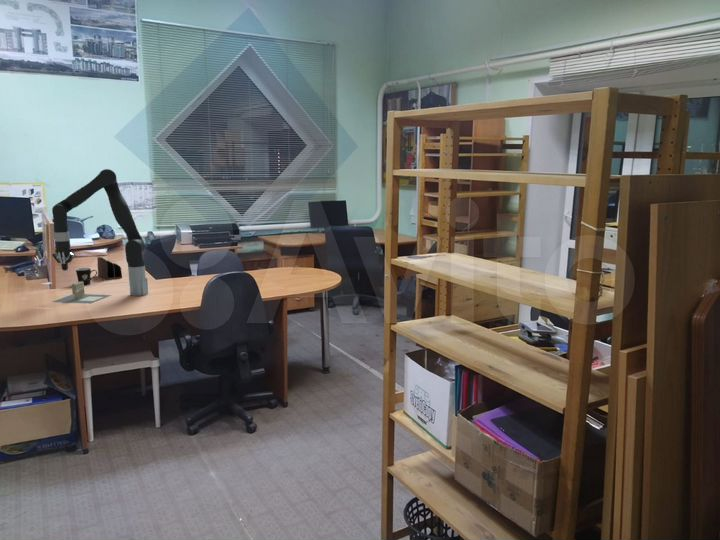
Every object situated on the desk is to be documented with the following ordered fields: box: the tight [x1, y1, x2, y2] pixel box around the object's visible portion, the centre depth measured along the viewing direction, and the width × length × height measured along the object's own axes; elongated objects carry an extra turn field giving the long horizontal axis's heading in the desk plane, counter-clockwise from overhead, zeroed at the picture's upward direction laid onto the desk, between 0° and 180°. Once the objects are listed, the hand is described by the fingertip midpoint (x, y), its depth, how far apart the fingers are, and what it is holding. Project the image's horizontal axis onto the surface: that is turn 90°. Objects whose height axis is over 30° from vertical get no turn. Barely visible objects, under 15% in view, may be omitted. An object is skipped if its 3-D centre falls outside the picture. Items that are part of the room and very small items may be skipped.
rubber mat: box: [51, 293, 112, 304], centre depth 307 cm, size 24×20×1 cm
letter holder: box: [97, 256, 123, 281], centre depth 371 cm, size 10×20×14 cm, turn 42°
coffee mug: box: [75, 267, 98, 286], centre depth 348 cm, size 12×9×10 cm
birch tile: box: [71, 281, 86, 300], centre depth 306 cm, size 3×7×9 cm, turn 173°
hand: (65, 270), depth 305 cm, fingers closed
